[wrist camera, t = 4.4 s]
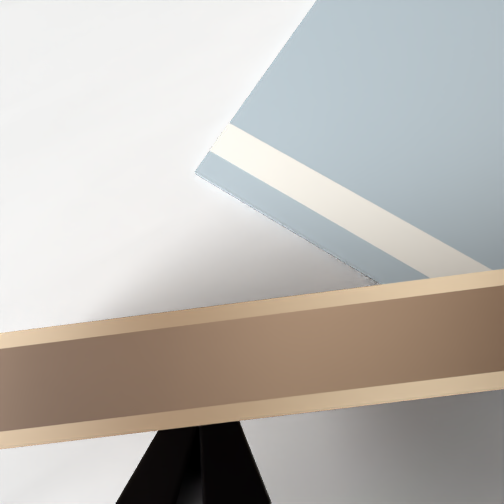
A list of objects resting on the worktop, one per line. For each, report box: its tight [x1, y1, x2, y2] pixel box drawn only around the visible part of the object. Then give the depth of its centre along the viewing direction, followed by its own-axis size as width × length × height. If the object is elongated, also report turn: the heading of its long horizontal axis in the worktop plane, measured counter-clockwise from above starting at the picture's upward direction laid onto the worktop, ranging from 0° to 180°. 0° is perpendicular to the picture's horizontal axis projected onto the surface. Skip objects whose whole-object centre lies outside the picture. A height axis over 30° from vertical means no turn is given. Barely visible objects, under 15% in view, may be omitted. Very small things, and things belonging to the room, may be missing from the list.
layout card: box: [195, 0, 504, 285], centre depth 18 cm, size 17×17×1 cm
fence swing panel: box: [0, 269, 504, 449], centre depth 10 cm, size 19×1×11 cm, turn 97°
